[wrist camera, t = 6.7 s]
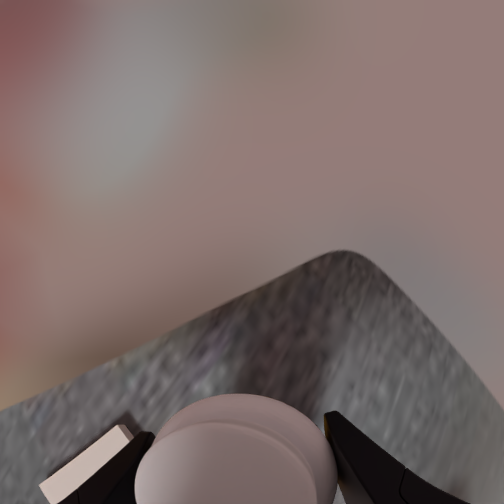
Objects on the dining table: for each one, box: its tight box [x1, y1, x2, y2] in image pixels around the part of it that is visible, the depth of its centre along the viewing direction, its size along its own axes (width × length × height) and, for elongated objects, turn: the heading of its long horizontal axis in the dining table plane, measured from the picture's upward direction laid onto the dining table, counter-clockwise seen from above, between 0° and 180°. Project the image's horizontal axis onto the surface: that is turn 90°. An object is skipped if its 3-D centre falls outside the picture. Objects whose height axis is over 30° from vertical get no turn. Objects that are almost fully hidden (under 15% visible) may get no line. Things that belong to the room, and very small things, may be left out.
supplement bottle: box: [135, 394, 338, 504], centre depth 8 cm, size 6×6×10 cm
